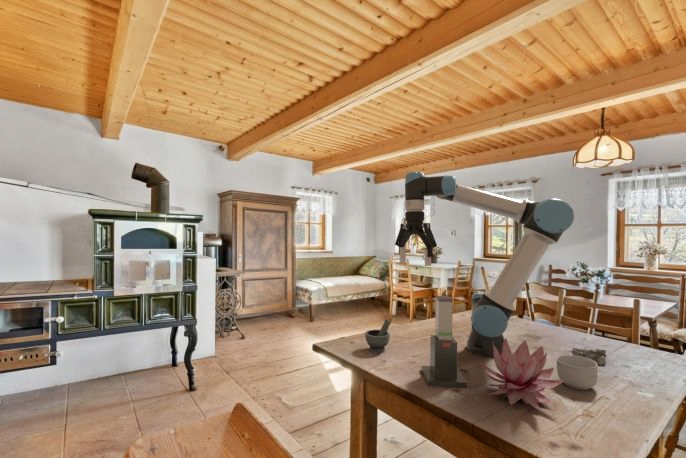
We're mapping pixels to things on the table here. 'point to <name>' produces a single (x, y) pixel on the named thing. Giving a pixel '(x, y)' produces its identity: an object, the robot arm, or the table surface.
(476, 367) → the table surface
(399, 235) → the robot arm
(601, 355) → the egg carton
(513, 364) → the decorative flower
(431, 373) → the sleeve
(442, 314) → the steel post
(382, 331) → the mortar and pestle
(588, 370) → the teacup
